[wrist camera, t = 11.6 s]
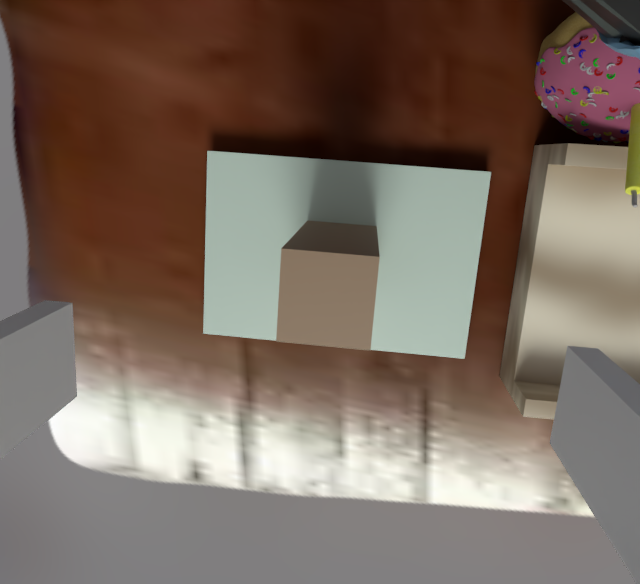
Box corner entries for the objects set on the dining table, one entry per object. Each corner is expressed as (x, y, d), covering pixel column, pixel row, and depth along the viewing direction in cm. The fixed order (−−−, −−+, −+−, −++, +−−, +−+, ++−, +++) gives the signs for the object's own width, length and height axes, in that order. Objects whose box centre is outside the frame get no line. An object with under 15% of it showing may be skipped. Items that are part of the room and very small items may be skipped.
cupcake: (644, -117, 23) (584, 148, 20) (807, -26, 24) (768, 230, 22) (521, 12, 31) (468, 211, 29) (648, 74, 32) (607, 267, 30)
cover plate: (214, 150, 33) (137, 149, 22) (485, 171, 32) (546, 179, 21) (210, 326, 36) (139, 402, 25) (460, 350, 35) (502, 441, 24)
